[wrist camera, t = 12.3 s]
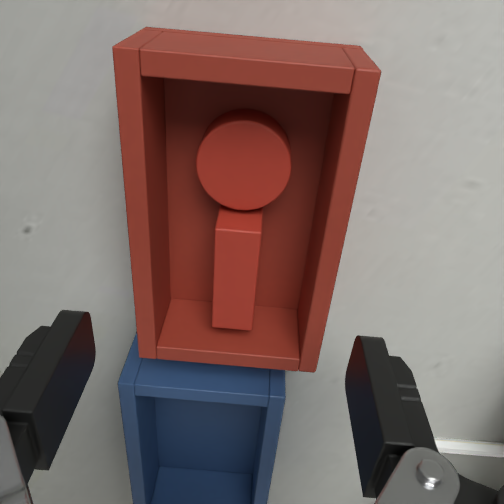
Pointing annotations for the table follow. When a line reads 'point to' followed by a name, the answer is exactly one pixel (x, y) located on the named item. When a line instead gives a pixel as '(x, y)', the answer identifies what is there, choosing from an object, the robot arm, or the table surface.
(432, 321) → the table surface
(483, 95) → the table surface
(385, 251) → the table surface
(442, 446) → the pencil
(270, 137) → the red spoon
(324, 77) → the red bin
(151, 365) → the blue bin
